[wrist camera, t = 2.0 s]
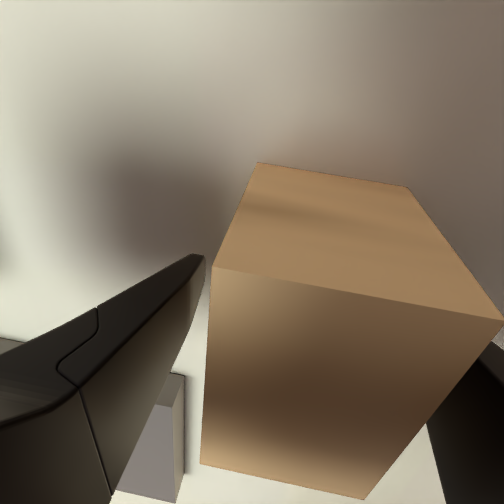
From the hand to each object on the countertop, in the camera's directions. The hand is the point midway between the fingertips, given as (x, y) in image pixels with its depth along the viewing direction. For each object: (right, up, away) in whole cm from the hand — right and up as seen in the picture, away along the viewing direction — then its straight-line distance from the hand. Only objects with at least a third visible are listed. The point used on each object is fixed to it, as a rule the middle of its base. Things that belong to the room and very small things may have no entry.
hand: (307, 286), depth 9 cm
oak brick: (0, +1, +1) cm, 1 cm away
